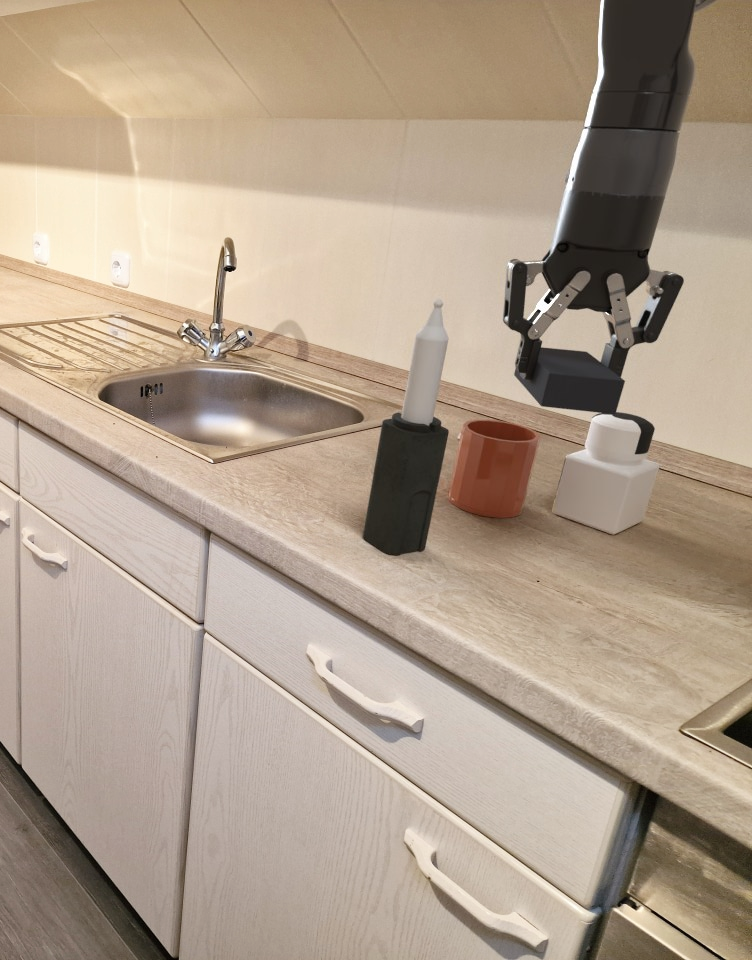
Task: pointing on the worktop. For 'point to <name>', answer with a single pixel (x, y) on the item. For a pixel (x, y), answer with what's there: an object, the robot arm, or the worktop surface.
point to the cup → (493, 468)
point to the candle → (410, 452)
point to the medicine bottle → (609, 474)
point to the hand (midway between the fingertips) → (564, 381)
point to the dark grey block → (573, 382)
